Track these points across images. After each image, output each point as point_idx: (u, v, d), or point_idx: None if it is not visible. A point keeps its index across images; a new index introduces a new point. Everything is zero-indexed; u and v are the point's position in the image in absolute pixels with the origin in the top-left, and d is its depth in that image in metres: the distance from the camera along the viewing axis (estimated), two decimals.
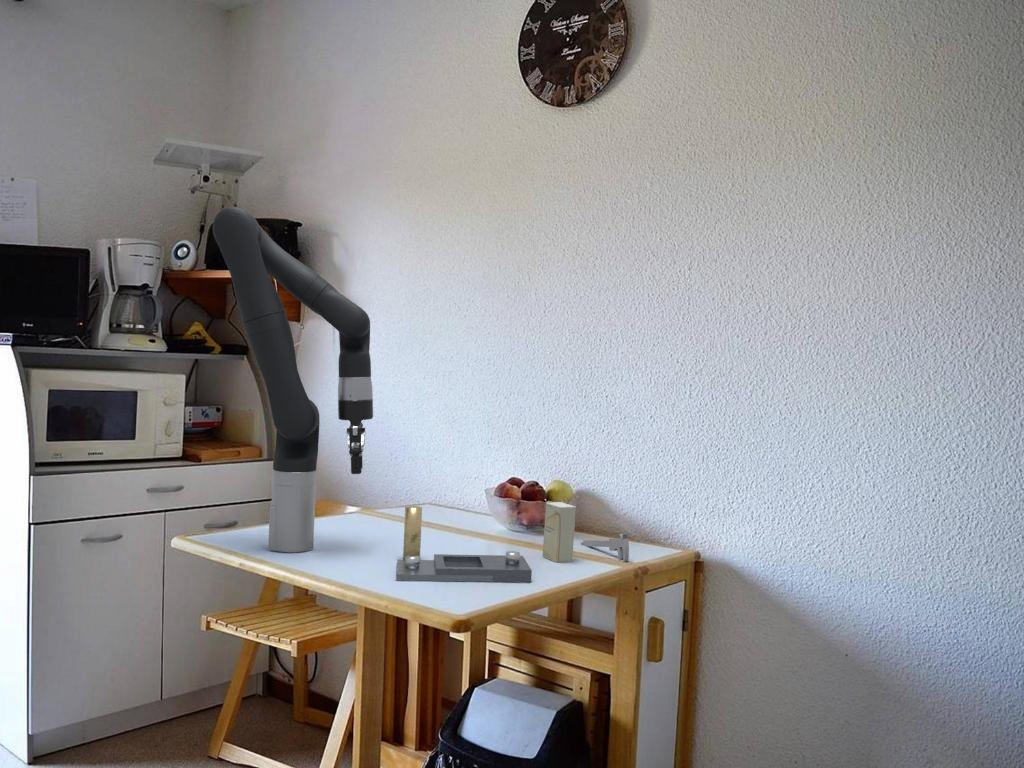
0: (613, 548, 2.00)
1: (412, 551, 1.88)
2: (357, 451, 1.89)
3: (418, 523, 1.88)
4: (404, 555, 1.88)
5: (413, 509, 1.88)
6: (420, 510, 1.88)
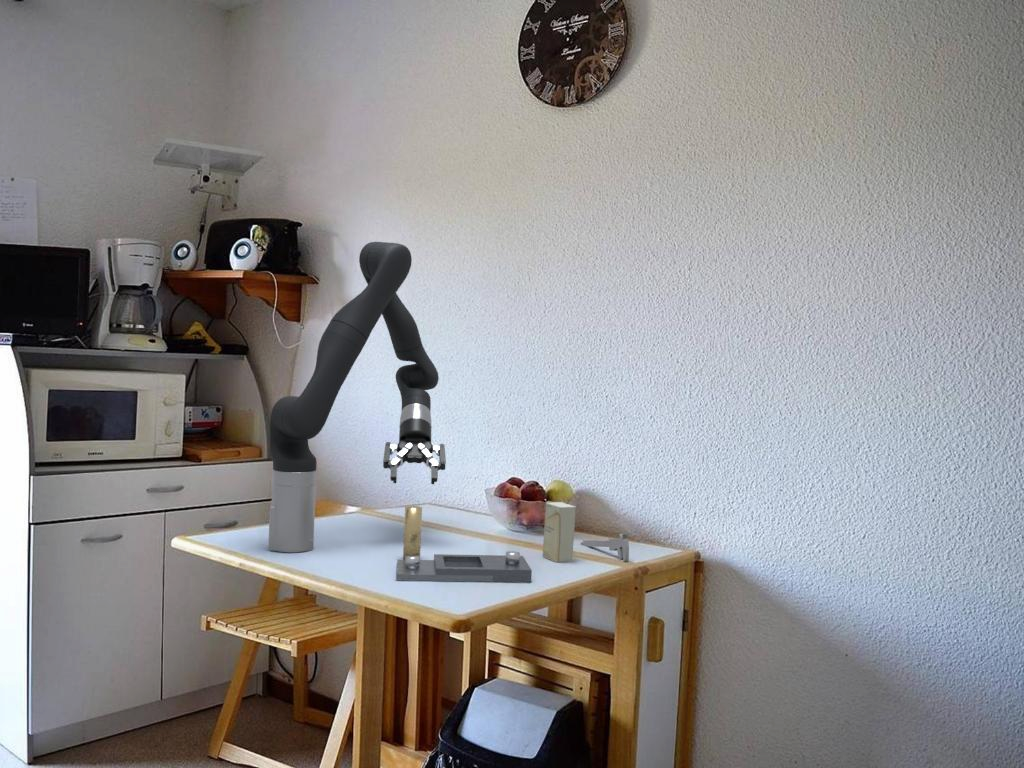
0: (613, 548, 2.00)
1: (412, 551, 1.88)
2: None
3: (418, 523, 1.88)
4: (404, 555, 1.88)
5: (413, 509, 1.88)
6: (420, 510, 1.88)
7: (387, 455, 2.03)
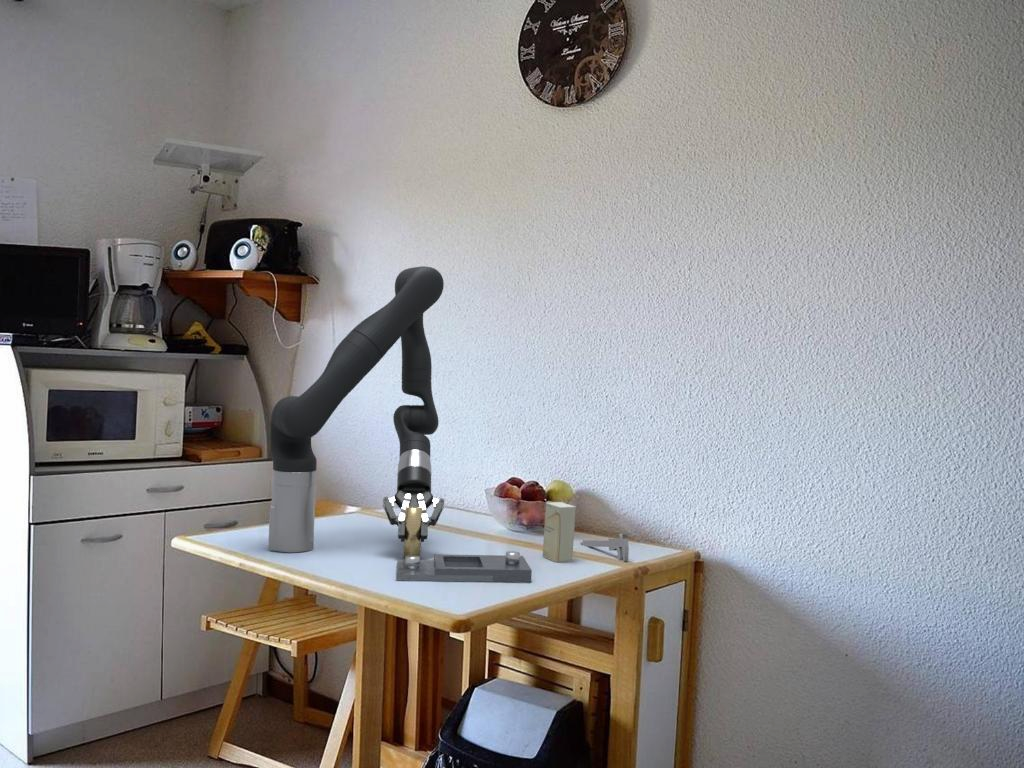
0: (613, 548, 2.00)
1: (412, 551, 1.88)
2: (435, 521, 1.92)
3: (418, 523, 1.88)
4: (404, 555, 1.88)
5: (413, 509, 1.88)
6: (420, 510, 1.88)
7: (392, 511, 1.90)
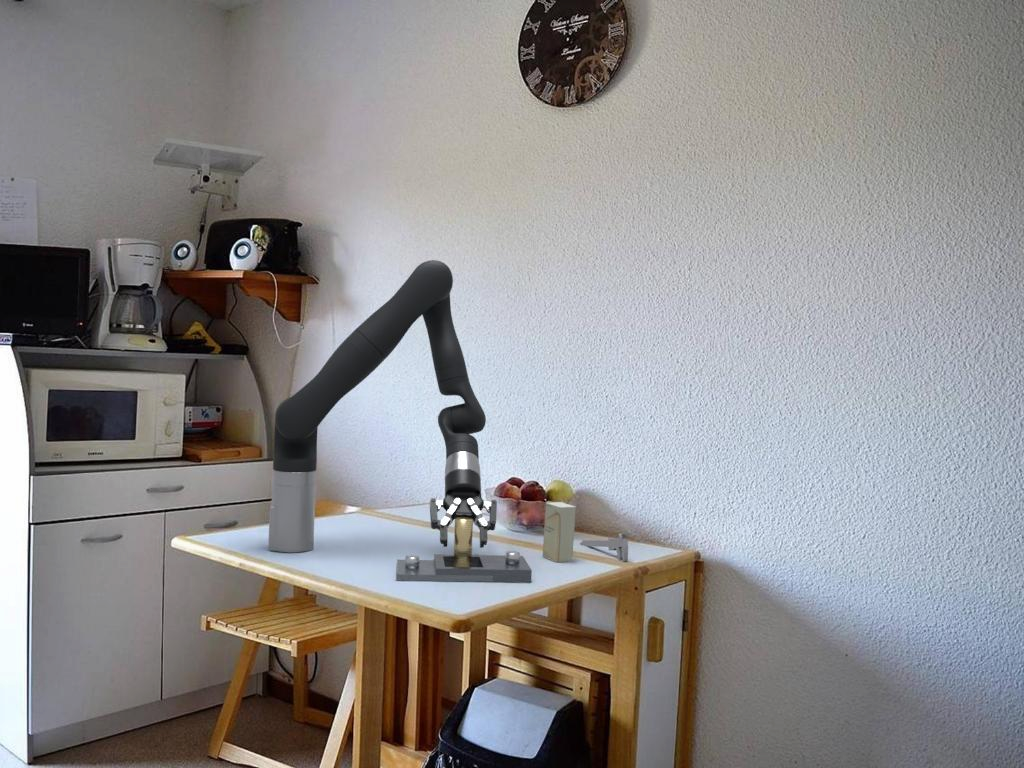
0: (612, 548, 2.00)
1: (463, 565, 1.76)
2: None
3: (469, 536, 1.76)
4: None
5: (464, 521, 1.76)
6: (471, 522, 1.77)
7: (435, 514, 1.79)
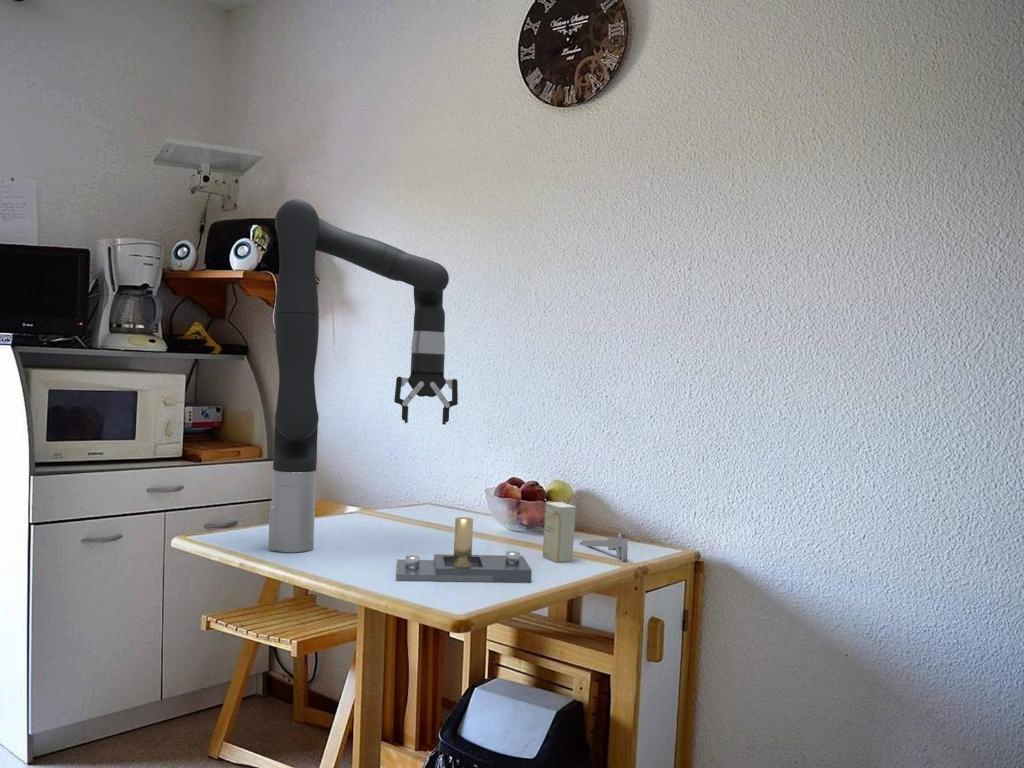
0: (612, 548, 2.00)
1: (463, 565, 1.76)
2: None
3: (469, 536, 1.76)
4: None
5: (464, 521, 1.76)
6: (471, 522, 1.77)
7: (398, 394, 1.99)
